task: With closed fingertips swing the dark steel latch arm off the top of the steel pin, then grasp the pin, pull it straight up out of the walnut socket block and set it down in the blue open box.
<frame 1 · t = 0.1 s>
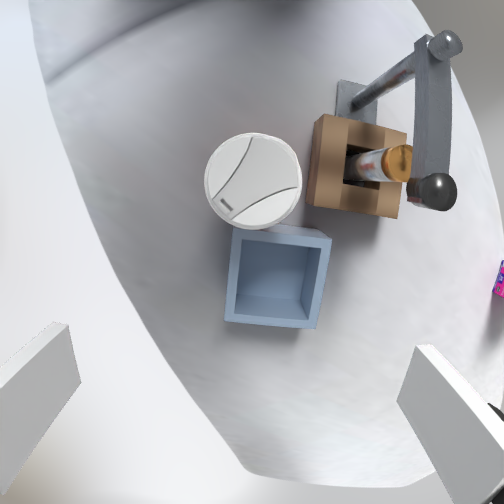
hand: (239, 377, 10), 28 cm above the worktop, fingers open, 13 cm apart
socket block: (349, 168, 36), on the worktop
pin: (372, 166, 28), in the socket block
latch: (391, 130, 24), point 12 cm above the worktop, hinge at 0.0°
blue open box: (272, 264, 38), on the worktop
latch base: (355, 104, 34), on the worktop
paper cup: (252, 180, 36), on the worktop
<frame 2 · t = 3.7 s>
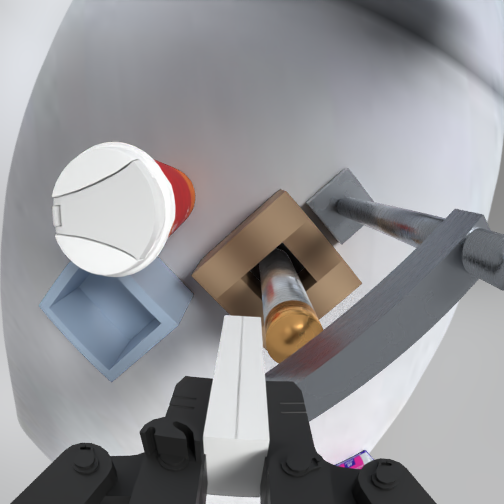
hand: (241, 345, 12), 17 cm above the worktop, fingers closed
socket block: (274, 263, 30), on the worktop
pin: (282, 291, 22), in the socket block
supplement box: (354, 463, 37), on the worktop
latch: (329, 280, 18), point 12 cm above the worktop, hinge at 0.0°, touching gripper
blue open box: (128, 288, 30), on the worktop
latch base: (341, 205, 28), on the worktop
paper cup: (168, 197, 28), on the worktop
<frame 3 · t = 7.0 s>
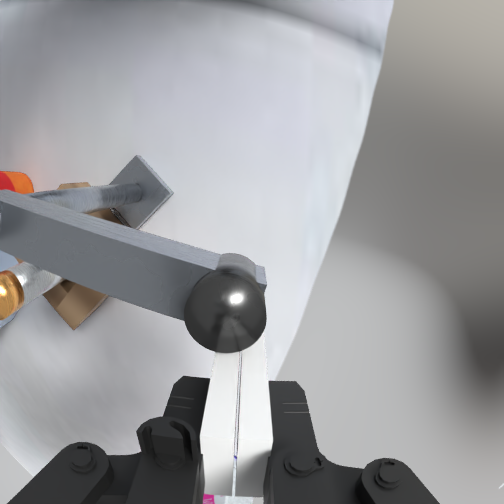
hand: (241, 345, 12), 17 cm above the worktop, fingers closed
socket block: (88, 249, 29), on the worktop
pin: (49, 269, 22), in the socket block
supplement box: (226, 465, 37), on the worktop
latch: (152, 224, 17), point 12 cm above the worktop, hinge at 121.6°, touching gripper
blue open box: (3, 269, 30), on the worktop
latch base: (139, 192, 28), on the worktop
paper cup: (20, 195, 28), on the worktop
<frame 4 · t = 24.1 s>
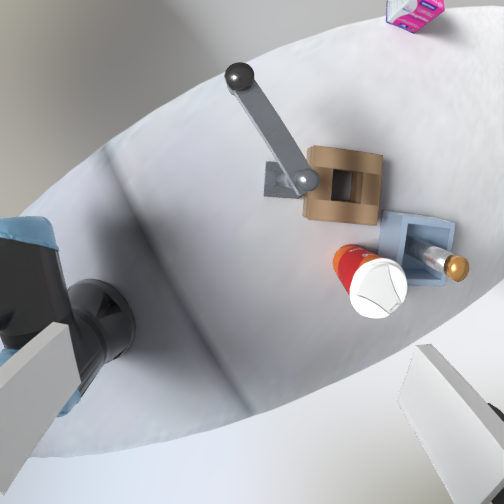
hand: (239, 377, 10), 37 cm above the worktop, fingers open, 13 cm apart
socket block: (337, 185, 44), on the worktop
pin: (430, 255, 38), in the blue open box, point 8 cm above the worktop
supplement box: (399, 17, 37), on the worktop
latch: (266, 138, 32), point 12 cm above the worktop, hinge at 124.9°
blue open box: (405, 243, 47), on the worktop
latch base: (281, 180, 44), on the worktop
paper cup: (348, 260, 47), on the worktop
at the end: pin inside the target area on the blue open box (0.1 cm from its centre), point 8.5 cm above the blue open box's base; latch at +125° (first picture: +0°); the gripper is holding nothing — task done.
